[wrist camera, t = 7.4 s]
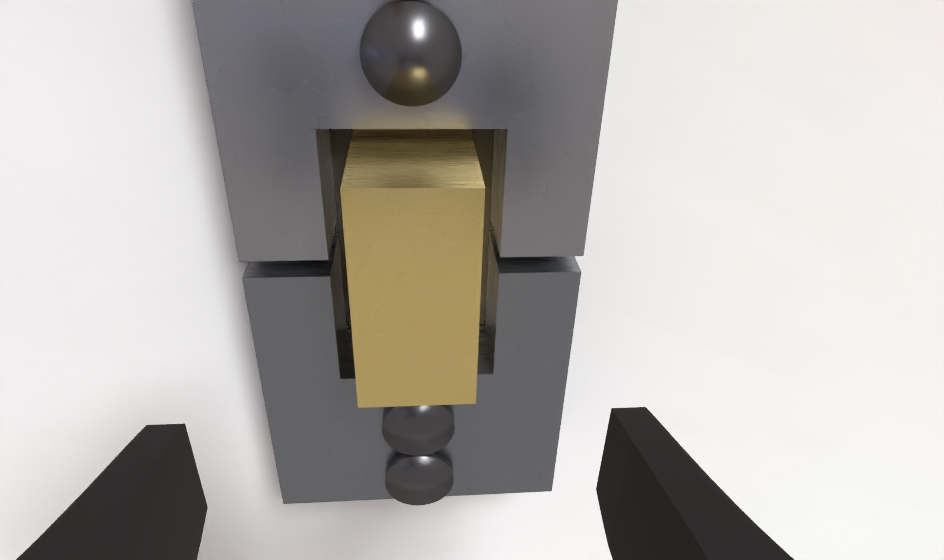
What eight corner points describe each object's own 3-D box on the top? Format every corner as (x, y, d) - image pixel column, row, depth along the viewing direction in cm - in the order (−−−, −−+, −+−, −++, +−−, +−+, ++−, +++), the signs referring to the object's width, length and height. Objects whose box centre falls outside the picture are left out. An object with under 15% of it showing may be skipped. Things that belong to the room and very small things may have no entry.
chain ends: (539, 438, 24) (553, 500, 22) (294, 448, 24) (281, 513, 21) (603, -128, 15) (641, -129, 13) (201, -142, 14) (158, -146, 12)
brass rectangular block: (462, 297, 21) (475, 403, 17) (368, 299, 21) (357, 407, 17) (466, 114, 18) (485, 187, 14) (356, 114, 18) (340, 188, 13)
